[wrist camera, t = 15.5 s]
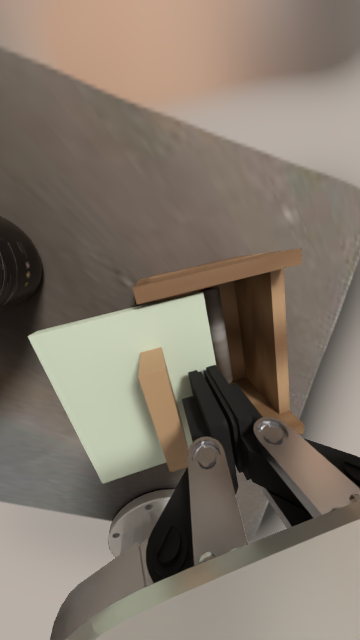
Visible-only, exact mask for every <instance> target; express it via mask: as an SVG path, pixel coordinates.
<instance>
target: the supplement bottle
mask: <svg viewBox="0 0 360 640" xmlns="http://www.w3.org/2000/svg"><path fill="white" fill-rule="evenodd" d="M41 276H42V265H41V260H40V257H39V254H38V252H37V249H36V248H35V246H34V244H33V243H32V241H31V240H30V239H29V237H28V236H27V235H26V234H25V233H24V232H23V231H22V230H21V229H20V228H18V227H17V226H16V225H15V224H13V223H12V222H10V221H9V220H7V219H5V218H3V217H1V216H0V310H4V309H7V308H10V307H13V306H15V305H18V304H20V303H22V302H24V301H26V300H27V299H28V298H30V297H31V296H32V295H33V294H34V292H35V291H36V290H37V288H38V286H39V284H40V281H41Z"/></svg>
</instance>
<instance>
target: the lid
mask: <svg viewBox="0 0 360 640" xmlns="http://www.w3.org/2000/svg"><path fill="white" fill-rule="evenodd" d="M28 338H29V340H30V342H31V344H32V346H33V348H34V350H35V352H36V354H37V356H38V358H39V360H40V362H41V364H42V366H43V368H44V370H45V372H46V374H47V376H48V378H49V380H50V382H51V384H52V385H53V387H54V389H55V391H56V393H57V395H58V397H59V399H60V401H61V403H62V405H63V407H64V409H65V411H66V413H67V415H68V417H69V419H70V421H71V423H72V425H73V427H74V429H75V431H76V433H77V435H78V437H79V439H80V441H81V442H82V444H83V446H84V448H85V450H86V452H87V454H88V456H89V458H90V460H91V462H92V464H93V466H94V468H95V470H96V472H97V474H98V476H99V478H100V480H101V482H102V484H104V483H107V482H110V481H113V480H116V479H119V478H121V477H124V476H127V475H130V474H133V473H136V472H139V471H142V470H145V469H148V468H151V467H154V466H157V465H160V464H163V463H166V462H167V465H168V468H169V471H170V473H171V472H174V471H177V470H180V469H182V468H185V467H188V450H189V447H190V445H191V444H192V443H193V442H192V438H191V434H190V430H189V426H188V423H187V419H186V415H185V411H184V407H183V403H182V399H183V398H187V397H190V396H193V394H192V389H191V385H190V380H189V376H188V372H191V371H195V370H197V371H198V372H202V374H203V376H204V372H203V371H204V370H206V367H209V366H212V365H216V361H215V355H214V350H213V344H212V339H211V333H210V328H209V322H208V316H207V311H206V305H205V300H204V294H203V292H201V291H197V292H193V293H189V294H185V295H181V296H177V297H173V298H169V299H165V300H161V301H157V302H153V303H149V304H144V305H140V306H136V307H132V308H128V309H124V310H120V311H116V312H112V313H108V314H104V315H100V316H96V317H92V318H88V319H84V320H80V321H76V322H72V323H68V324H64V325H60V326H56V327H52V328H48V329H44V330H39V331H36V332H35V333H33V334H31V335H29V336H28ZM204 378H205V377H204Z"/></svg>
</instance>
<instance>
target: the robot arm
mask: <svg viewBox="0 0 360 640" xmlns="http://www.w3.org/2000/svg"><path fill="white" fill-rule="evenodd" d="M203 372H204V376H203V374H202V372H198V371H197V370H195V371H191V372H188V376H189V380H190V385H191V389H192V394H193V396H190V397H187V398H183V399H182V403H183V407H184V411H185V415H186V419H187V423H188V426H189V430H190V434H191V438H192V442H193V443H192V444H191V445H190V447H189V450H188V467H187V469H186V471H185V473H184V474H183V476H182V478H181V480H180V482H179V483H178V485H177V487H176V489H166V490H159V491H154V492H151V493H148V494H145V495H142V496H140V497H138V498H136V499H134V500H133V501H131V502H130V503H128V504H127V505H126V506H125V507H124V508H122V509H121V510H120V511H119V513H118V514H117V515H116V516H115V518H114V520H113V522H112V524H111V527H110V531H109V540H108V544H109V549H110V551H111V552H112V554H113V555H114V556H115V557H116V558H115V559H113V560H112V561H111V562H109V563H108V564H107V565H105V566H104V567H102V568H101V569H100V570H98V571H97V572H95V573H94V574H93V575H91V576H90V577H88V578H87V579H86V580H84V581H83V582H81V583H80V584H79V585H78V586H77V587H76V588H75V589H74V590H72V591H71V593H69V595H68V597H67V598H66V600H65V601H64V603H63V604H62V606H61V608H60V610H59V613H58V615H57V617H56V620H55V621H54V625H53V629H52V633H51V637H50V640H360V458H359V457H357V456H355V455H352V454H349V453H346V452H343V451H340V450H337V449H333V448H331V447H328V446H324V445H322V444H319V443H316V442H313V441H310V440H307V439H304V438H302V437H301V436H300V435H299V434H297V433H296V432H295V431H294V430H293V429H292V428H291V427H290V426H288V425H287V424H286V423H285V422H283V421H282V420H280V419H277V418H274V417H262V415H261V414H260V413H259V411H258V410H257V409H256V408H255V406H254V405H253V404H252V402H251V401H250V400H249V399H248V397H247V396H246V395H245V393H244V392H243V391H242V390H241V388H240V387H239V386H238V385H237V384H236V383H234V384H231V385H229V383H228V382H227V381H226V379H225V378H224V376H223V375H222V373H221V372H220V371H219V369H218V368H217V366H216V365H212V366H209V367H206V370H204V371H203ZM204 377H205V378H204ZM235 465H236V467H237V469H238V471H239V473H241V472H243V473H244V475H245V477H246V479H247V480H249V479H251V480H252V482H254V483H256V484H258V485H260V487H261V489H262V491H263V493H264V495H265V496H266V498H267V499H268V501H269V502H270V504H271V505H272V507H273V508H274V510H275V511H276V513H277V514H278V515H279V517H280V519H281V520H282V522H283V523H284V525H285V526H286V528H287V529H285V530H283V531H280V532H278V533H275V534H273V535H271V536H268V537H265V538H263V539H260V540H258V541H255V542H253V543H250V544H248V541H247V537H246V533H245V529H244V526H243V522H242V518H241V514H240V510H239V506H238V502H237V498H236V492H237V489H238V482H237V476H236V469H235Z"/></svg>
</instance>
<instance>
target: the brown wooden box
mask: <svg viewBox="0 0 360 640" xmlns="http://www.w3.org/2000/svg"><path fill="white" fill-rule="evenodd" d="M299 264H302V254H301V249H293V250H285V251H278V252H270V253H263V254H255V255H247V256H240V257H234V258H230V259H226V260H221V261H217V262H213V263H209V264H204V265H200V266H196V267H191V268H187V269H183V270H179V271H174V272H170V273H166V274H161V275H157V276H153V277H149V278H144V279H140V280H139V281H138V282H137V283H136V284H135V286H134V287H133V288H132V289H133V292H134V296H135V299H136V302H137V304H140V305H144V304H149V303H153V302H157V301H161V300H165V299H169V298H173V297H177V296H181V295H185V294H189V293H193V292H197V291H201V292H203V294H204V300H205V305H206V311H207V316H208V322H209V328H210V333H211V339H212V344H213V350H214V355H215V361H216V366H217V368H218V369H219V371H220V372H221V373H222V375H223V376H224V378H225V379H226V381H227V382H228V383H229V385H231V384H234V383H236V384H237V385H238V386H239V387H240V388H241V390H242V391H243V392H244V393H245V395H246V396H247V397H248V399H249V400H250V401H251V402H252V404H253V405H254V406H255V408H256V409H257V410H258V411H259V413H260V414H261V415H262V417H274V418H277V419H280V420H282V421H283V422H285V423H286V424H287V425H288V426H290V427H291V428H292V429H293V430H294V431H295V432H296V433H297V434H299V435H300V434H303V433H304V424H303V423H302V422H301V421H300V420H299V419H298V418H297V417H296V416H295V415H294V414H293V413H292V412H291V411H290V403H289V380H288V357H287V335H286V312H285V289H284V268H287V267H291V266H295V265H299ZM185 468H186V469H187V467H185Z"/></svg>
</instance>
